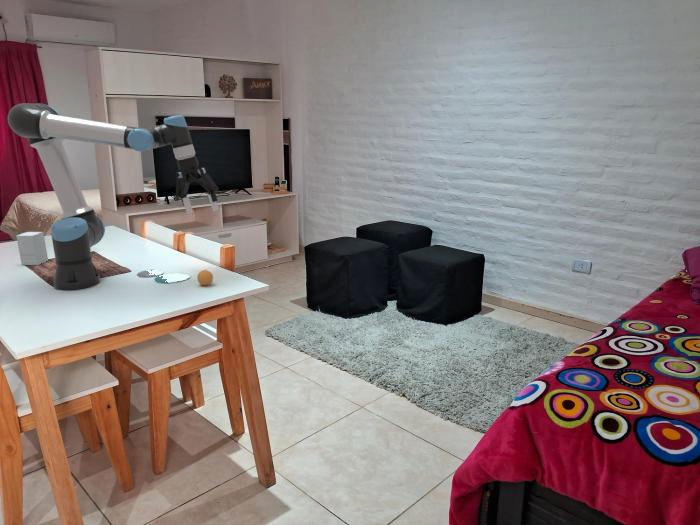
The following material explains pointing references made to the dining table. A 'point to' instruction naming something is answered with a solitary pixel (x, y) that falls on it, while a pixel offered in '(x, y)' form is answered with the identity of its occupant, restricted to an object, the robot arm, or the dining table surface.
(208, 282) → the ball
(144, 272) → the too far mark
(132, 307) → the dining table surface
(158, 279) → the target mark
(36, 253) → the supplement box
